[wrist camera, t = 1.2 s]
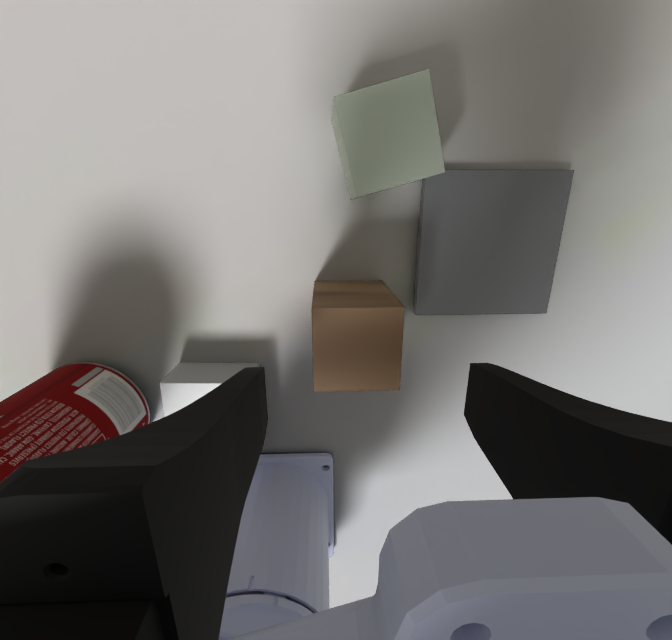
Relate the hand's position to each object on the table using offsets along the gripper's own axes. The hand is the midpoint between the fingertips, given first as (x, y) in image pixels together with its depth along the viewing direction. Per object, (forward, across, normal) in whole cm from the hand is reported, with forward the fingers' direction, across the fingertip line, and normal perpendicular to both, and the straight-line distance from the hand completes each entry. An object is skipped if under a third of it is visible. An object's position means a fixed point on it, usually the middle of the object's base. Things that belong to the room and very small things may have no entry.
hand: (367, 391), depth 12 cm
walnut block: (+10, 0, 0) cm, 10 cm away
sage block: (+10, -2, -9) cm, 13 cm away
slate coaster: (+10, -8, -4) cm, 13 cm away
